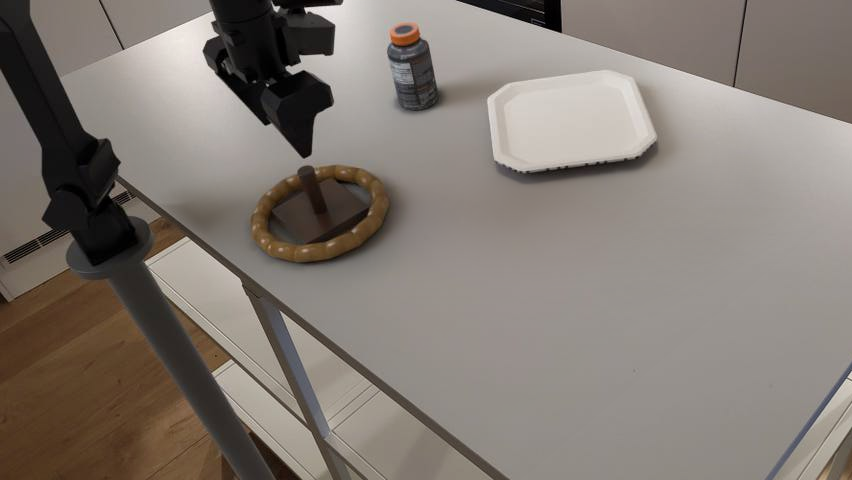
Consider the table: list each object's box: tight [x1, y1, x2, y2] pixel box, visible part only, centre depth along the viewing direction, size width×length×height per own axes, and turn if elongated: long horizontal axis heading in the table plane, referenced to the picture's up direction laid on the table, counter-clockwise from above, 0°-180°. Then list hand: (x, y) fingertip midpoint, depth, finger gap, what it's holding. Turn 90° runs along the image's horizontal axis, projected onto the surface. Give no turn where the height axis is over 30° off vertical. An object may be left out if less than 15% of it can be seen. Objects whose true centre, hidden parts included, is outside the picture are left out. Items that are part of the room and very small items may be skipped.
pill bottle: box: [386, 22, 439, 111], centre depth 107 cm, size 6×6×11 cm
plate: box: [486, 69, 658, 174], centre depth 100 cm, size 21×21×2 cm
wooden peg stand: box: [271, 164, 370, 245], centre depth 92 cm, size 9×9×7 cm
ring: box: [250, 164, 390, 264], centre depth 94 cm, size 17×17×2 cm
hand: (287, 139), depth 86 cm, fingers open, 9 cm apart
